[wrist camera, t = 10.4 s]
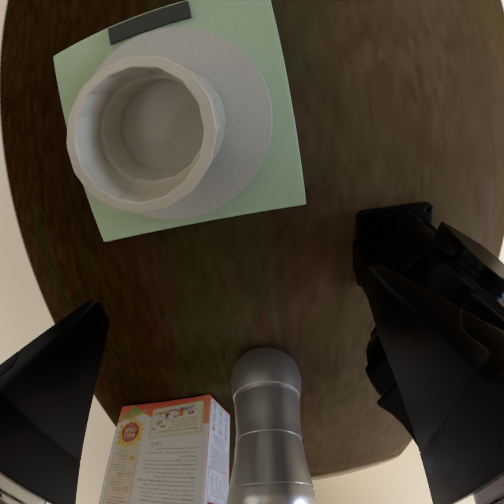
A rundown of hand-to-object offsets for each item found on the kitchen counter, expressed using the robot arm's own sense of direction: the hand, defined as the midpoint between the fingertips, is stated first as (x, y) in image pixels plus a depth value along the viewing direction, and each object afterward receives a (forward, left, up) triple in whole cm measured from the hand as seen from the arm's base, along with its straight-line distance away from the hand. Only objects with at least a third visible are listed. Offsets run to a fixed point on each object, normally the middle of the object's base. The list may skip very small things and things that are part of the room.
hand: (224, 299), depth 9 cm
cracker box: (+14, +26, -12) cm, 32 cm away
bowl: (+3, -5, -9) cm, 11 cm away
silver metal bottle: (+1, +17, -12) cm, 21 cm away
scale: (+3, -6, -12) cm, 13 cm away
